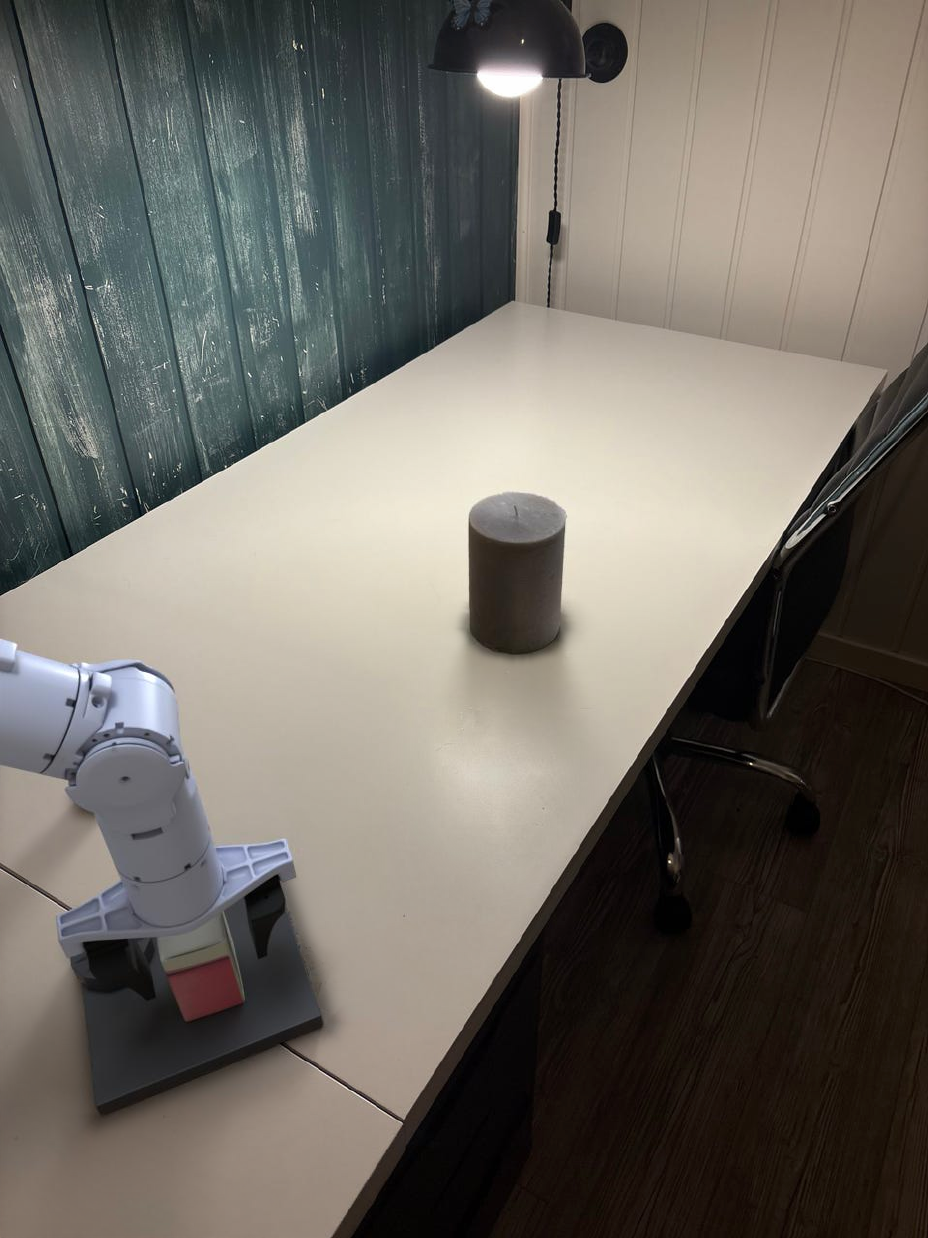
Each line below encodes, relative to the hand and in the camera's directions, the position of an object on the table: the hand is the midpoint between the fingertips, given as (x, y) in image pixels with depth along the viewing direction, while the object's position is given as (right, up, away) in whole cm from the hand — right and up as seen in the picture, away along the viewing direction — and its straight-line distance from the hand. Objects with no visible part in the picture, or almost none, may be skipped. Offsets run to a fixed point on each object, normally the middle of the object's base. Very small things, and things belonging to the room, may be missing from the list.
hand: (205, 966), depth 64 cm
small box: (0, -2, +2) cm, 2 cm away
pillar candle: (+23, +23, +35) cm, 48 cm away
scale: (-1, -3, +3) cm, 4 cm away
